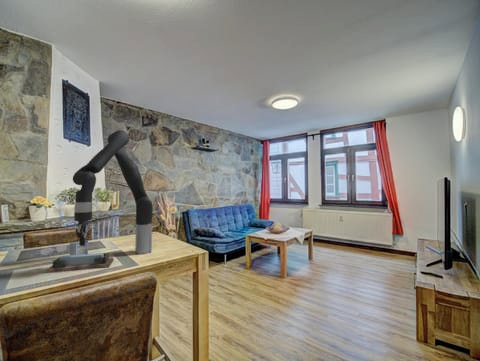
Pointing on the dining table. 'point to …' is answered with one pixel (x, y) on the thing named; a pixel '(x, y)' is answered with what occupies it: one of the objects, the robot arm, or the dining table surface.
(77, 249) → the medicine box
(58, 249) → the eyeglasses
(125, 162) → the robot arm
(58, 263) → the endcap board
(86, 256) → the grey long block
